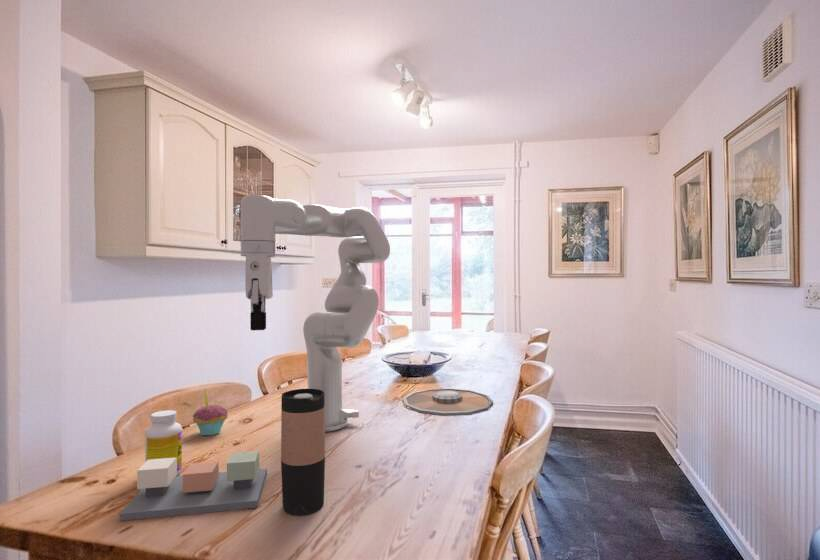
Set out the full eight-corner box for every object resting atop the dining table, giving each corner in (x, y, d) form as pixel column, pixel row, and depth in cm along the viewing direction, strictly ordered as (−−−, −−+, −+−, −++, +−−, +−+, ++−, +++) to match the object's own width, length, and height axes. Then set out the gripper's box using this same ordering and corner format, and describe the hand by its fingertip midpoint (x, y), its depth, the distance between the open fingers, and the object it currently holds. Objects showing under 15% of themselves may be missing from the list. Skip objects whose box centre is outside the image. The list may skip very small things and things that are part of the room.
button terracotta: (218, 478, 86) (218, 461, 86) (212, 490, 81) (212, 472, 81) (190, 480, 85) (190, 463, 85) (182, 492, 80) (182, 474, 80)
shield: (409, 381, 165) (491, 384, 160) (409, 390, 165) (491, 393, 160) (394, 404, 135) (494, 408, 130) (394, 415, 135) (494, 419, 130)
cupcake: (214, 439, 113) (214, 392, 113) (185, 437, 115) (185, 390, 115) (234, 428, 122) (234, 384, 122) (206, 426, 123) (206, 383, 123)
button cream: (176, 474, 85) (176, 457, 85) (167, 486, 80) (167, 468, 80) (148, 477, 84) (148, 459, 84) (137, 489, 79) (137, 470, 79)
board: (267, 474, 92) (267, 457, 92) (257, 507, 78) (257, 488, 79) (151, 484, 88) (151, 466, 88) (119, 521, 74) (119, 500, 74)
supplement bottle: (183, 477, 91) (183, 414, 91) (146, 485, 87) (146, 420, 88) (180, 465, 97) (180, 407, 97) (144, 473, 93) (144, 411, 93)
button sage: (258, 467, 88) (258, 451, 88) (255, 478, 83) (255, 461, 83) (232, 470, 87) (232, 453, 87) (226, 481, 82) (226, 463, 82)
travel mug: (285, 496, 83) (285, 388, 83) (327, 494, 83) (327, 387, 83) (277, 518, 75) (276, 399, 75) (322, 515, 76) (322, 398, 76)
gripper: (271, 247, 95) (271, 333, 95) (278, 252, 110) (278, 326, 110) (234, 247, 94) (234, 334, 94) (246, 252, 108) (246, 327, 108)
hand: (258, 329), depth 102 cm, fingers closed
